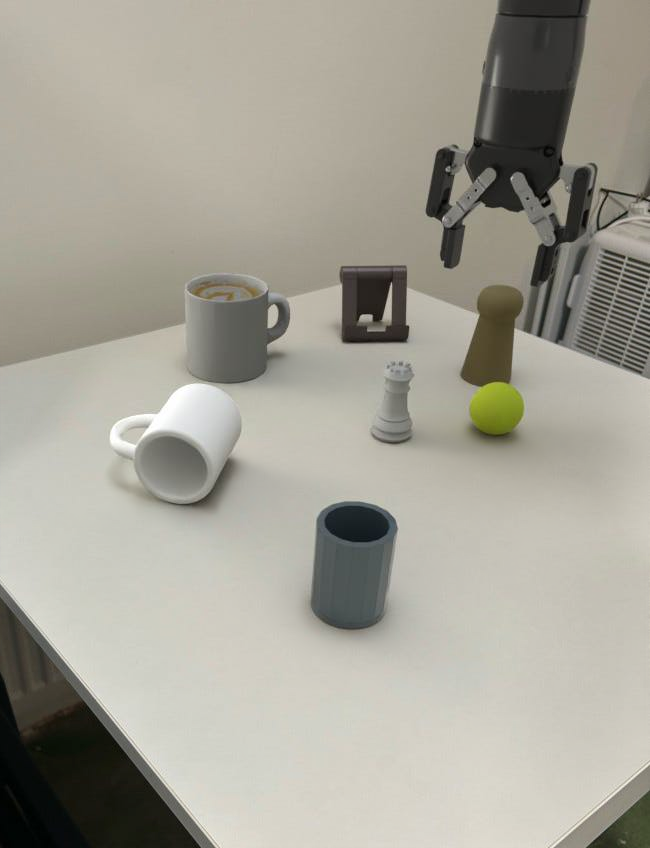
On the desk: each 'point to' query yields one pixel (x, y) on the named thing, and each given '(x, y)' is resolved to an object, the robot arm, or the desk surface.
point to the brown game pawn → (493, 336)
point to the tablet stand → (373, 301)
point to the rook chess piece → (394, 405)
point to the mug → (182, 443)
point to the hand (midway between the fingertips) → (493, 275)
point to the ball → (496, 408)
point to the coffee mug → (230, 326)
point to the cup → (352, 564)
